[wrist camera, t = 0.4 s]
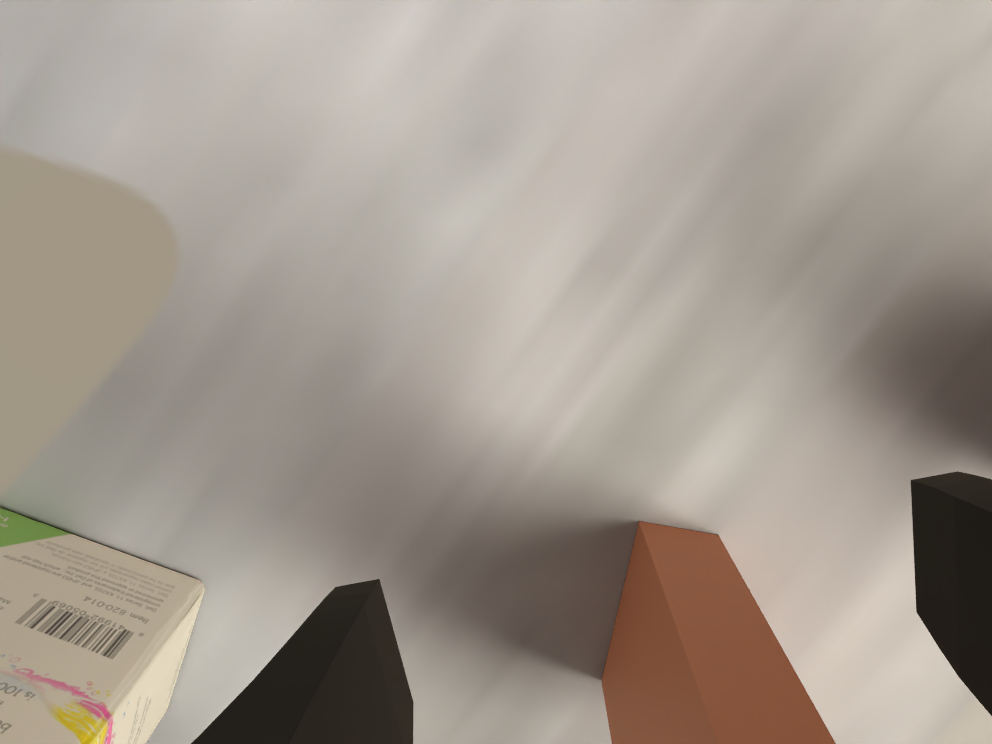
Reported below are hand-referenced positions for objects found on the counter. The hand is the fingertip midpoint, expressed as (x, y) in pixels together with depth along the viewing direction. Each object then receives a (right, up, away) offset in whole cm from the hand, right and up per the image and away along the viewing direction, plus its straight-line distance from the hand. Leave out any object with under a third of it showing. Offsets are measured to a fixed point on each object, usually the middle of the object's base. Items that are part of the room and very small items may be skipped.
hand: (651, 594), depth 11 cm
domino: (+2, -4, +12) cm, 13 cm away
